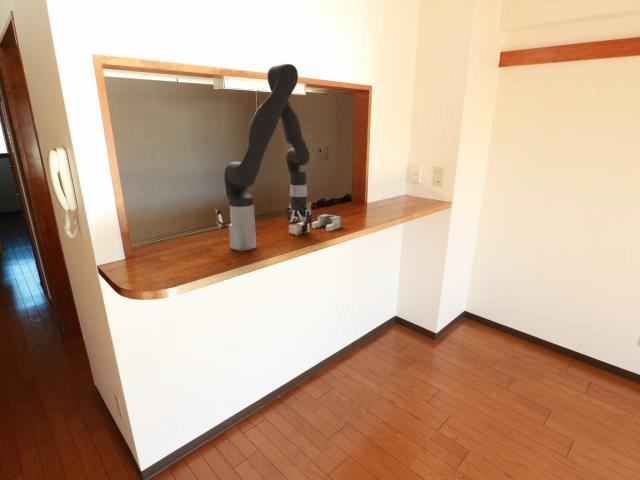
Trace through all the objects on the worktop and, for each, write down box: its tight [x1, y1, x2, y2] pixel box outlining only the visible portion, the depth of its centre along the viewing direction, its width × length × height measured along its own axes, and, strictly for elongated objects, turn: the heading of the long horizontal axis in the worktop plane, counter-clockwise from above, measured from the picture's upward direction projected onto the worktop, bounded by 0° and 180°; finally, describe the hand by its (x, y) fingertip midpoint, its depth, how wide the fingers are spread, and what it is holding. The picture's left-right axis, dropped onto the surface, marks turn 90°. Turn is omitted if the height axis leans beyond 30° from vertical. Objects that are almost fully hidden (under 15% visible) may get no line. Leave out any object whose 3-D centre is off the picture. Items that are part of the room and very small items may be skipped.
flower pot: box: [288, 202, 312, 223], centre depth 187 cm, size 9×9×9 cm
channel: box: [311, 213, 343, 232], centre depth 175 cm, size 10×10×5 cm
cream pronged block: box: [288, 222, 310, 236], centre depth 166 cm, size 8×5×4 cm, turn 136°
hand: (299, 231), depth 166 cm, fingers open, 6 cm apart
